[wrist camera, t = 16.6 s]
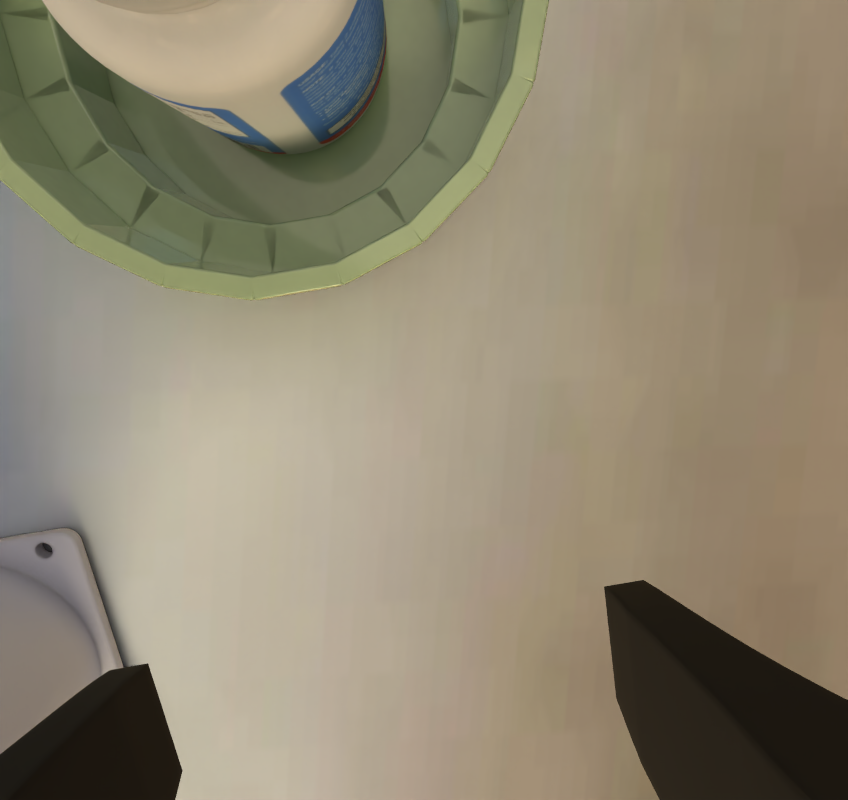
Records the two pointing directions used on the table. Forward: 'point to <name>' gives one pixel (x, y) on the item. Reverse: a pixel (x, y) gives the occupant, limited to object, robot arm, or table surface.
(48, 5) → the pill bottle
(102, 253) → the green pet bowl
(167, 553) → the table surface
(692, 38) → the table surface
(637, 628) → the robot arm
